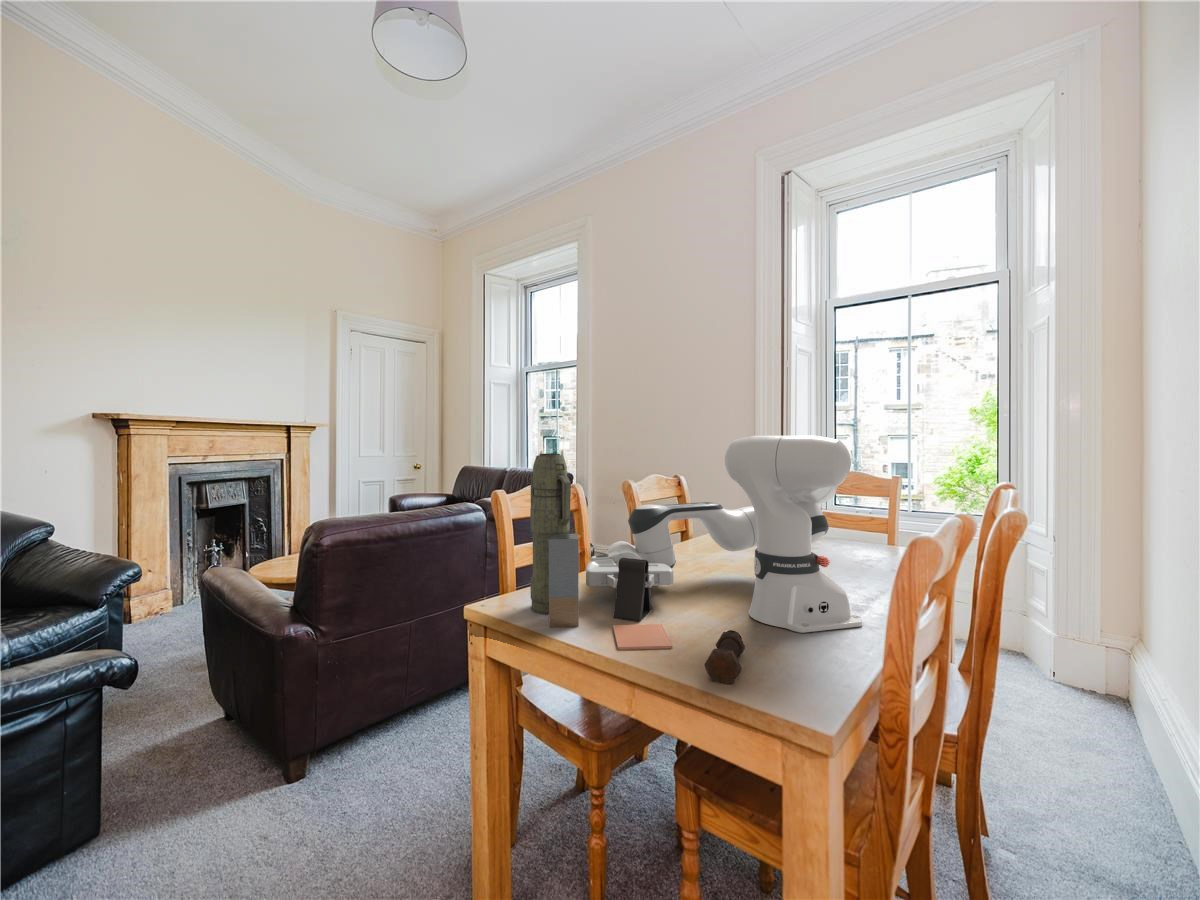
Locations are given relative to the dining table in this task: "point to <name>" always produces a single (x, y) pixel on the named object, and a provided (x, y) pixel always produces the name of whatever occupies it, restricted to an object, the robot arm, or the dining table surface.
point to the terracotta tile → (641, 637)
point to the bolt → (725, 658)
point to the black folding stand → (632, 590)
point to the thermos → (547, 520)
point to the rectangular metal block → (563, 580)
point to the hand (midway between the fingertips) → (632, 584)
